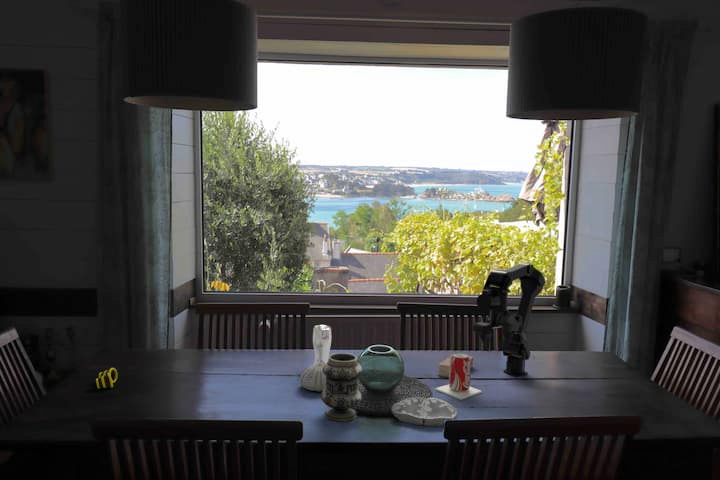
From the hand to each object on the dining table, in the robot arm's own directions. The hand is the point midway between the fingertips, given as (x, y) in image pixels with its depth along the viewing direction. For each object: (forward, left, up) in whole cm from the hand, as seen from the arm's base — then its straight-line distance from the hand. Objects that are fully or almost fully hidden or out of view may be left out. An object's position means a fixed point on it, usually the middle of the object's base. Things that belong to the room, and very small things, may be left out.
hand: (496, 349), depth 204 cm
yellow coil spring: (+120, -59, -12) cm, 135 cm away
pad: (+18, +1, -12) cm, 21 cm away
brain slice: (+41, +12, -12) cm, 44 cm away
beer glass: (+47, -44, -12) cm, 65 cm away
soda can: (+18, +1, -12) cm, 21 cm away
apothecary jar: (+63, 0, -12) cm, 64 cm away
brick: (+4, -16, -13) cm, 21 cm away
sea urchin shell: (+58, -24, -12) cm, 64 cm away
